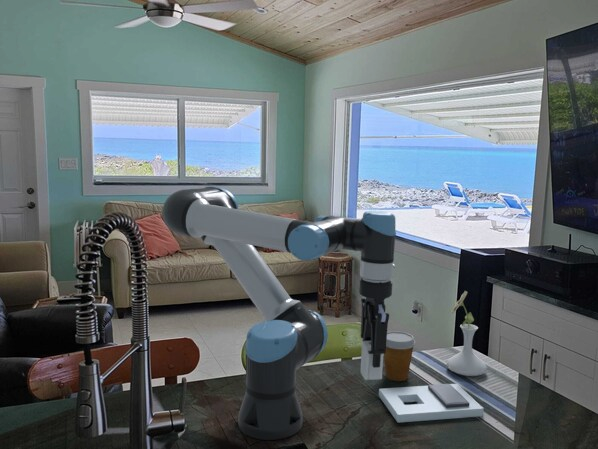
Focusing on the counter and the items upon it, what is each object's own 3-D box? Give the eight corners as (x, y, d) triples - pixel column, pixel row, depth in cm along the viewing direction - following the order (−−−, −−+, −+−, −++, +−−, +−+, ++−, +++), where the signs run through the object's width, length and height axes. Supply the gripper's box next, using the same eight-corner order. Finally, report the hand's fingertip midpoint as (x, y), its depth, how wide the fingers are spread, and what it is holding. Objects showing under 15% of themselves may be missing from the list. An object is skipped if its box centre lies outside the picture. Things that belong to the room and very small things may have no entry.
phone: (446, 407, 130) (446, 404, 130) (428, 388, 141) (428, 384, 141) (469, 406, 131) (469, 402, 131) (449, 386, 142) (449, 383, 142)
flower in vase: (458, 360, 165) (463, 282, 161) (493, 372, 157) (499, 289, 153) (435, 372, 156) (440, 289, 153) (471, 385, 148) (476, 297, 144)
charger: (365, 380, 124) (367, 346, 123) (360, 372, 128) (362, 340, 127) (381, 379, 125) (383, 345, 124) (376, 372, 129) (378, 339, 127)
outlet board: (397, 422, 127) (398, 414, 126) (378, 395, 140) (379, 388, 140) (483, 416, 131) (483, 408, 130) (456, 390, 144) (457, 383, 144)
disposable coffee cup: (416, 384, 148) (418, 342, 146) (382, 383, 148) (383, 342, 146) (410, 370, 157) (412, 331, 156) (377, 369, 157) (379, 330, 156)
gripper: (405, 288, 115) (398, 390, 119) (379, 269, 132) (374, 359, 135) (371, 288, 114) (366, 391, 117) (350, 270, 130) (346, 360, 134)
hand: (370, 374), depth 126 cm, fingers closed on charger, 4 cm apart
